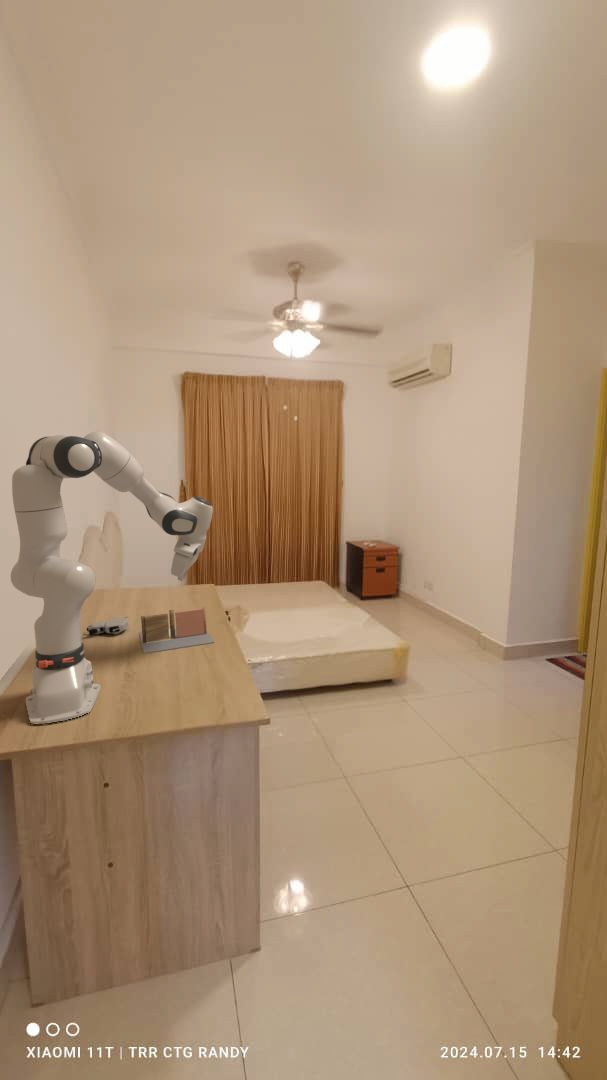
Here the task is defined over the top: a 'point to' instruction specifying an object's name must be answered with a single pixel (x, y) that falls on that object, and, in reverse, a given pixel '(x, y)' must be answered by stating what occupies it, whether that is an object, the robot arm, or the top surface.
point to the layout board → (175, 642)
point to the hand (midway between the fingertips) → (181, 578)
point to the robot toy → (108, 626)
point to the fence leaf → (191, 622)
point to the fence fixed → (157, 627)
